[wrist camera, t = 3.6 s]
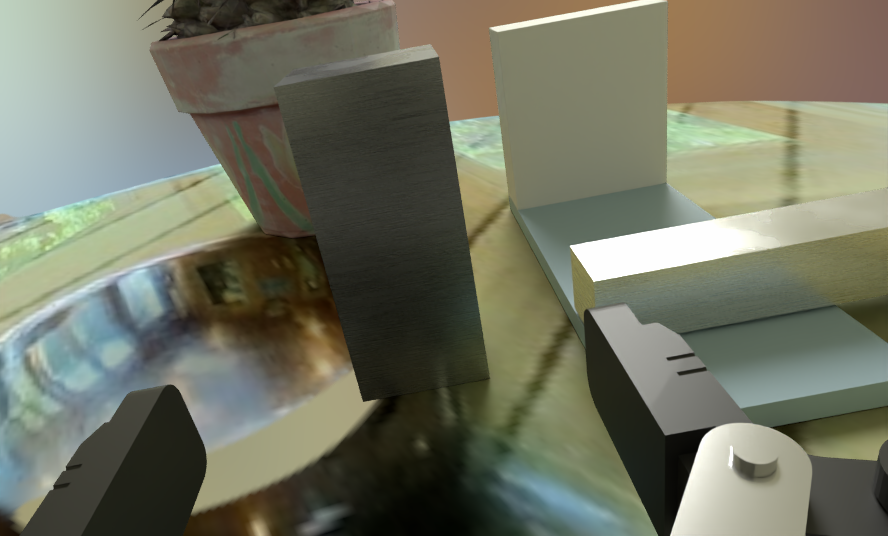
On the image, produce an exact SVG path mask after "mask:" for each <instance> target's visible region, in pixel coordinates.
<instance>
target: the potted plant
mask: <svg viewBox="0 0 888 536" xmlns="http://www.w3.org/2000/svg"><path fill="white" fill-rule="evenodd" d="M162 1H163V0H157V2H155V3H154V4H153V5H152V6H151V7H150V8H152V7H154V6H155V5H157V4H159V3H160V2H162ZM150 8H149V9H148V10H147V11H149V10H150ZM147 11H146V12H147ZM146 12H145V13H146ZM145 13H144V14H145ZM144 14H143V15H144ZM143 15H142V16H143ZM142 16H141V17H142ZM162 17H164V18H173V19H174V21H173V23H172V24H171V25H169V26H167V27H169V28H167V29H165V30H163V31H171V30H172V31H171V32H169V33H168V34H167V35H165V36H164V37H163V38H162V39H160V40H159V41H156V42H152V43H151V47H150V52H151V55H152V57H153V59H154V61H155V63H156V65H157V67H158V69H159V72H160V73H161V76H162V78H163V80H164V82H165V84H166V86H167V88H168V90H169V93H170V95H171V97H172V99H173V101H174V103H175V105H176V107H177V110H178V112H183V113H188V114H190V115H191V116H192V118H193V119H194V121H195V123H196V124H197V126H198V128H199V129H200V131H201V133H202V134H203V136H204V138H205V139H206V141H207V142H208V144H209V146H210V147H211V149H212V151H213V152H214V154H215V155H216V157H217V159H218V160H219V162H220V163H221V165H222V167H223V168H224V170H225V172H226V173H227V175H228V176H229V178H230V180H231V181H232V183H233V185H234V186H235V188H236V189H237V191H238V193H239V194H240V196H241V197H242V199H243V201H244V202H245V204H246V206H247V207H248V209H249V210H250V212H251V214H252V215H253V217H254V218H255V220H256V222H257V223H258V225H259V226H260V227H261V229H262V230H263V231H264V233H265V234H270V235H276V236H282V237H288V238H297V237H305V236H313V235H316V234H315V231H314V227H313V224H312V220H311V217H310V213H309V210H308V206H307V203H306V199H305V196H304V192H303V189H302V185H301V182H300V178H299V175H298V171H297V168H296V164H295V161H294V157H293V154H292V150H291V147H290V143H289V140H288V136H287V132H286V129H285V125H284V122H283V118H282V115H281V111H280V108H279V104H278V101H277V97H276V94H275V90H274V86H275V85H276V84H278V83H279V82H280V81H281V80H282V79H283V78H284V77H285V76H287V75H288V74H289V73H290V72H291V71H292V70H293V69H298V68H304V67H309V66H314V65H320V64H325V63H331V62H336V61H342V60H347V59H353V58H358V57H364V56H369V55H375V54H380V53H386V52H391V51H396V50H400V46H399V35H398V25H397V15H396V5H395V3H394V2H393V1H392V0H372V1H363V2H355V3H354V2H353V0H176V1H175V0H173V4H172V5H171V6H170V7H169V8H168V9H167V10H166V12H165V13H164V15H163V16H162ZM156 22H157V21H156ZM156 22H154V23H156ZM154 23H152V24H154ZM152 24H150V25H152ZM150 25H149V26H150ZM163 31H161V32H163ZM173 35H178V36H176V37H172V36H173ZM171 37H172V38H171Z"/></svg>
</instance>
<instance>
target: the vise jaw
mask: <svg viewBox="0 0 888 536" xmlns="http://www.w3.org/2000/svg"><path fill="white" fill-rule="evenodd" d="M570 253H571V267H572V280H573V294H574V307H575V309H576V311H577V313H578V314H579V316H580V318H581V320H582V322H583V323H584V311H585V309H589V308H594V307H600V306H605V305H611V304H616V303H621V302H624V303H625V304H626V305H627V306H628V307H629V308H630V310H631V311H632V313H633V314H634V315H635V317H636V318H637V319H638V321H639V322H640V323H641V325H646V324H651V323H656V322H657V323H659V324H661V325H663V326H665V327H666V328H668V329H670V330H672V331H673V332H675V333H677V334H678V333H683V332H689V331H694V330H699V329H705V328H710V327H716V326H721V325H727V324H732V323H737V322H743V321H748V320H754V319H759V318H764V317H770V316H775V315H781V314H786V313H792V312H797V311H802V310H808V309H813V308H819V307H824V306H830V305H835V304H840V303H846V302H851V301H857V300H862V299H868V298H873V297H878V296H884V295H888V188H883V189H878V190H872V191H867V192H861V193H856V194H850V195H845V196H840V197H834V198H829V199H823V200H818V201H812V202H807V203H801V204H796V205H791V206H785V207H780V208H774V209H769V210H763V211H758V212H753V213H747V214H742V215H736V216H731V217H725V218H720V219H714V220H709V221H704V222H698V223H693V224H687V225H682V226H676V227H671V228H665V229H660V230H655V231H649V232H644V233H638V234H633V235H627V236H622V237H616V238H611V239H606V240H600V241H595V242H589V243H584V244H578V245H573V246H570Z"/></svg>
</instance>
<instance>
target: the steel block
mask: <svg viewBox="0 0 888 536" xmlns="http://www.w3.org/2000/svg"><path fill="white" fill-rule="evenodd" d="M274 90H275V94H276V97H277V101H278V104H279V108H280V111H281V115H282V118H283V122H284V125H285V129H286V132H287V136H288V140H289V143H290V147H291V150H292V154H293V157H294V161H295V164H296V168H297V171H298V175H299V178H300V182H301V185H302V189H303V192H304V196H305V199H306V203H307V206H308V210H309V213H310V217H311V220H312V224H313V227H314V231H315V234H316V238H317V241H318V245H319V248H320V252H321V255H322V259H323V263H324V266H325V270H326V273H327V277H328V280H329V284H330V287H331V291H332V294H333V298H334V301H335V305H336V308H337V312H338V315H339V319H340V322H341V326H342V329H343V333H344V336H345V340H346V343H347V347H348V350H349V354H350V357H351V361H352V364H353V368H354V371H355V375H356V378H357V382H358V386H359V389H360V393H361V396H362V399H363V402H365V401H370V400H376V399H381V398H387V397H392V396H397V395H403V394H408V393H414V392H419V391H425V390H430V389H435V388H441V387H446V386H452V385H457V384H462V383H468V382H473V381H479V380H484V379H490V377H489V371H488V364H487V358H486V352H485V345H484V339H483V333H482V326H481V320H480V314H479V307H478V301H477V295H476V288H475V282H474V276H473V270H472V263H471V257H470V251H469V244H468V238H467V232H466V225H465V219H464V213H463V206H462V200H461V194H460V188H459V181H458V175H457V169H456V162H455V156H454V150H453V143H452V137H451V131H450V124H449V119H448V112H447V106H446V99H445V93H444V87H443V81H442V74H441V68H440V61H439V56H438V55H437V53H436V52H435V50H434V49H433V48H432V46H431V44H430V45H424V46H419V47H414V48H407V49H402V50H396V51H391V52H386V53H380V54H375V55H369V56H364V57H358V58H353V59H347V60H342V61H336V62H331V63H325V64H320V65H314V66H309V67H304V68H298V69H293V70H292V71H291V72H290V73H289V74H288V75H287V76H285V77H284V78H283V79H282V80H281V81H280V82H279V83H278V84H276V85H275V86H274Z"/></svg>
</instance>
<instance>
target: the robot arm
mask: <svg viewBox="0 0 888 536" xmlns="http://www.w3.org/2000/svg"><path fill="white" fill-rule="evenodd" d="M584 332H585V347H586V362H587V376H588V382H589V387H590V391H591V395H592V398H593V401H594V404H595V406H596V408H597V410H598V412H599V414H600V417H601V419H602V421H603V423H604V425H605V427H606V429H607V431H608V433H609V435H610V437H611V439H612V441H613V443H614V445H615V447H616V449H617V452H618V454H619V456H620V458H621V460H622V462H623V464H624V466H625V468H626V470H627V472H628V474H629V476H630V478H631V480H632V482H633V484H634V487H635V489H636V491H637V493H638V495H639V497H640V499H641V501H642V503H643V505H644V507H645V509H646V511H647V513H648V515H649V517H650V520H651V522H652V524H653V526H654V528H655V530H656V532H657V534H658V536H888V440H887V441H885V442H884V444H883V445H882V446H881V449H880V451H879V455H878V460H877V461H871V460H856V459H842V458H827V457H818V456H813V455H808V454H807V453H806V452H805V451H804V450H803V448H802V447H801V446H800V445H799V444H797V443H796V442H795V441H794V440H792V439H791V438H790V437H788V436H786V435H785V434H783V433H781V432H779V431H776V430H774V429H772V428H769V427H765V426H762V425H757V424H753V423H752V422H751V421H750V419H749V418H748V417H747V416H746V415H745V413H744V412H743V411H742V410H741V409H740V407H739V406H738V405H737V404H736V402H735V401H734V400H733V399H732V398H731V396H730V395H729V394H728V393H727V392H726V390H725V389H724V388H723V387H722V385H721V384H720V383H719V382H718V381H717V379H716V378H715V377H714V376H713V375H712V373H711V372H710V371H707V369H706V366H705V365H704V364H703V362H702V361H701V360H700V359H699V358H698V356H695V354H694V351H693V350H692V349H691V348H690V347H689V345H688V344H687V343H686V342H685V341H684V339H683V338H682V337H681V336H680V335H679V334H677V333H675V332H673V331H672V330H670V329H668V328H666V327H665V326H663V325H661V324H659V323H657V322H656V323H651V324H646V325H641V323H640V322H639V321H638V319H637V318H636V317H635V315H634V314H633V313H632V311H631V310H630V308H629V307H628V306H627V305H626V304H625V303H624V302H621V303H616V304H611V305H605V306H600V307H594V308H589V309H585V311H584ZM206 465H207V459H206V451H205V447H204V444H203V441H202V439H201V437H200V435H199V433H198V430H197V428H196V426H195V424H194V422H193V420H192V417H191V415H190V413H189V411H188V409H187V406H186V404H185V402H184V400H183V398H182V395H181V393H180V392H179V390H178V389H177V388H176V387H175V386H174V385H165V386H159V387H154V388H148V389H143V390H138V391H132V392H130V393H129V394H127V396H126V397H125V398H124V400H123V401H122V403H121V405H120V406H119V408H118V409H117V411H116V412H115V414H114V416H113V417H112V419H111V420H110V422H107V423H104V424H103V425H102V426H101V427H100V428H99V429H97V430H96V431H95V432H94V433H93V434H92V435H91V436H90V437H88V438H87V439H86V440H85V441H84V442H83V443H82V444H81V445H80V446H79V448H78V449H77V451H76V452H75V454H74V455H73V457H72V458H71V460H70V461H69V463H68V464H67V466H66V471H63V472H62V473H61V475H60V476H59V478H58V479H57V481H56V482H55V484H54V485H53V486H54V489H53V490H50V491H49V493H48V494H47V496H46V497H45V499H44V500H43V502H42V503H41V505H40V506H39V508H38V509H37V511H36V512H35V514H34V515H33V517H32V518H31V520H30V521H29V522H28V524H27V525H26V527H25V528H24V530H23V531H22V533H21V534H20V536H183V533H184V531H185V528H186V525H187V523H188V520H189V517H190V515H191V512H192V509H193V507H194V504H195V501H196V499H197V496H198V493H199V491H200V488H201V485H202V483H203V480H204V477H205V473H206Z"/></svg>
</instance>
